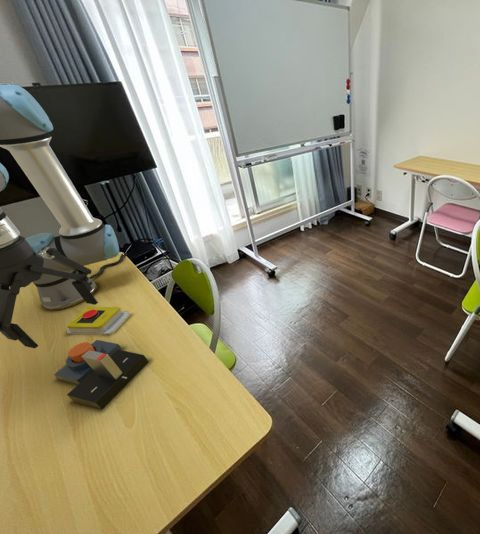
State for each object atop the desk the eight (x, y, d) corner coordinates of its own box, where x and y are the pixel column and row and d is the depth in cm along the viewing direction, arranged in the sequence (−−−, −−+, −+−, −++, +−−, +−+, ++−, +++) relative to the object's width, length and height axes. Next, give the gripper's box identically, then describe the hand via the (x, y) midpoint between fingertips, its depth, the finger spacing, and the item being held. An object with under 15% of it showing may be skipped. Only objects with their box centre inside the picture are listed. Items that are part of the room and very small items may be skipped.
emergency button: (82, 303, 96) (125, 303, 95) (89, 313, 99) (132, 313, 98) (57, 324, 89) (104, 324, 88) (66, 334, 91) (111, 334, 90)
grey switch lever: (97, 375, 75) (80, 355, 70) (105, 368, 76) (88, 349, 72) (116, 380, 74) (99, 360, 69) (123, 373, 75) (107, 353, 71)
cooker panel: (123, 356, 83) (117, 348, 82) (153, 362, 81) (148, 355, 79) (73, 401, 72) (66, 394, 71) (107, 411, 70) (100, 403, 68)
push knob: (86, 346, 82) (81, 340, 81) (99, 349, 81) (94, 343, 80) (68, 360, 78) (63, 354, 77) (82, 364, 77) (77, 358, 76)
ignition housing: (100, 344, 87) (93, 335, 85) (122, 349, 86) (115, 339, 83) (58, 379, 78) (49, 370, 76) (81, 385, 76) (72, 376, 74)
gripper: (-86, 287, 44) (14, 372, 57) (76, 215, 64) (124, 290, 76) (-118, 281, 46) (-14, 365, 58) (50, 213, 65) (101, 286, 78)
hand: (64, 322), depth 67 cm, fingers open, 13 cm apart
